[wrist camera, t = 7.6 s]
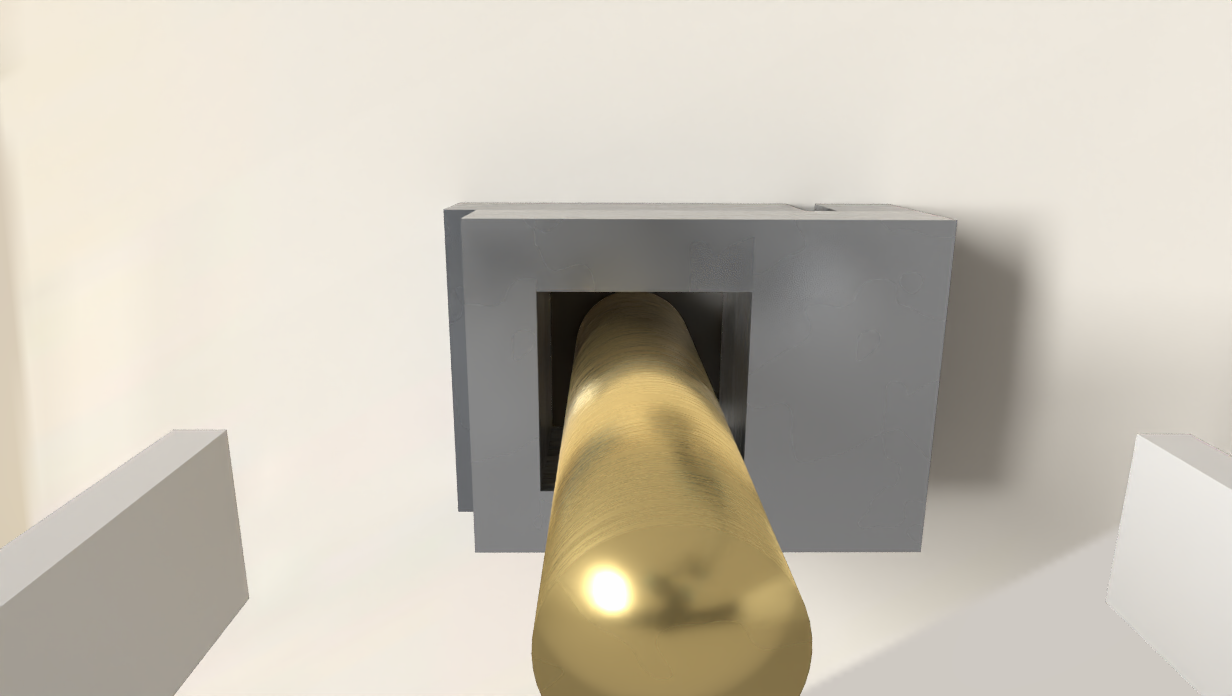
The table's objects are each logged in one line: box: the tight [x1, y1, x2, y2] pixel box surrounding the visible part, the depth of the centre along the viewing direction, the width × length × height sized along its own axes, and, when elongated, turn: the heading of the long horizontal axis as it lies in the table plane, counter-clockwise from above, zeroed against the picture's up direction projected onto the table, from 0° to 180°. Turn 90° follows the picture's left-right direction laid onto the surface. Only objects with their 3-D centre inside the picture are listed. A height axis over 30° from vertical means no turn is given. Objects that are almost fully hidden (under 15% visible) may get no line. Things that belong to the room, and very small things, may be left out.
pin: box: [532, 292, 812, 696], centre depth 16 cm, size 3×3×14 cm
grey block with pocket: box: [444, 203, 957, 552], centre depth 21 cm, size 12×8×4 cm
